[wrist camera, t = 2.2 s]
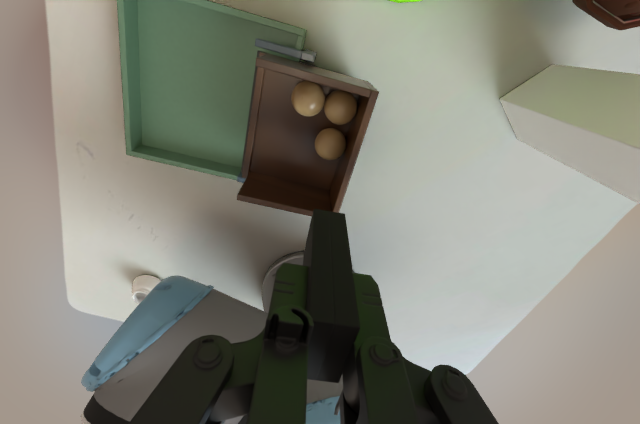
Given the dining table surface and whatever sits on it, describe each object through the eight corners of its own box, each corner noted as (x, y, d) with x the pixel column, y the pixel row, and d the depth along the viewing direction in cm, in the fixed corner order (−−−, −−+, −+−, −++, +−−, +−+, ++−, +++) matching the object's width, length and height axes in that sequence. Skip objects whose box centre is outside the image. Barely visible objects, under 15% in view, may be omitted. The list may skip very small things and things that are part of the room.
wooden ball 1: (306, 110, 30) (326, 121, 28) (281, 109, 28) (302, 120, 26) (313, 78, 28) (335, 87, 27) (288, 74, 26) (310, 83, 25)
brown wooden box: (333, 192, 34) (335, 222, 29) (241, 170, 33) (225, 197, 28) (368, 81, 29) (379, 91, 23) (258, 49, 27) (242, 53, 22)
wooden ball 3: (334, 154, 32) (345, 166, 29) (307, 150, 30) (316, 163, 28) (342, 126, 30) (355, 136, 28) (314, 121, 29) (325, 132, 27)
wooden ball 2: (344, 121, 30) (356, 131, 28) (316, 116, 29) (326, 126, 26) (353, 89, 29) (367, 97, 26) (324, 83, 27) (336, 90, 25)
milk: (567, 109, 35) (862, 196, 16) (515, 140, 37) (724, 251, 18) (551, 62, 33) (876, 99, 14) (497, 98, 35) (715, 175, 16)
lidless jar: (154, 300, 51) (173, 287, 49) (145, 314, 48) (165, 301, 47) (128, 282, 49) (148, 268, 47) (118, 296, 46) (138, 281, 45)
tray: (276, 179, 40) (273, 188, 37) (139, 146, 38) (126, 154, 35) (306, 30, 31) (305, 29, 29) (133, -22, 29) (114, -28, 27)
